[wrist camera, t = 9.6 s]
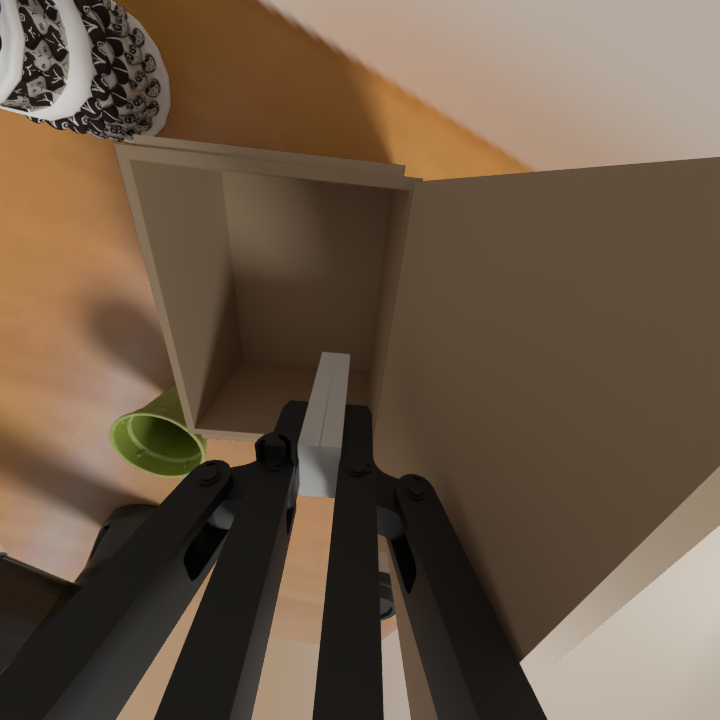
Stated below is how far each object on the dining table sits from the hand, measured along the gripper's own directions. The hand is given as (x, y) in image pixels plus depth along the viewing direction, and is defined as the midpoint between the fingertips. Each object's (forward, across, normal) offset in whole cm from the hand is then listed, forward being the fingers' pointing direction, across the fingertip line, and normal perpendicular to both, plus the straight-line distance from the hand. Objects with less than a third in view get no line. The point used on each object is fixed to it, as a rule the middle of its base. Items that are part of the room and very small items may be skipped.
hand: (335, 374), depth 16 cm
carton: (+17, -4, 0) cm, 17 cm away
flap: (-4, +4, 0) cm, 5 cm away
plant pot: (+17, -18, -16) cm, 30 cm away
